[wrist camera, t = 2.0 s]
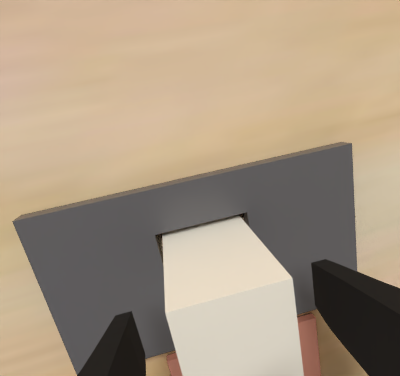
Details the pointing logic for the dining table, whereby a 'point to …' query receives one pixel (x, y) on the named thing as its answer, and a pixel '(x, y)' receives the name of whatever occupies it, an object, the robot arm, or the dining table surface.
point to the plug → (229, 302)
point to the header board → (176, 219)
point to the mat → (306, 342)
